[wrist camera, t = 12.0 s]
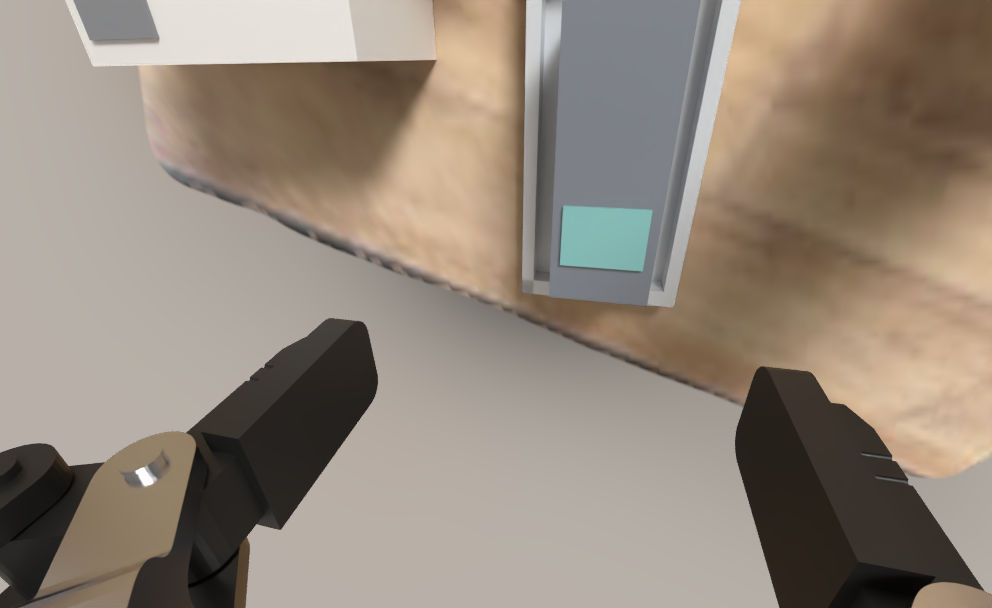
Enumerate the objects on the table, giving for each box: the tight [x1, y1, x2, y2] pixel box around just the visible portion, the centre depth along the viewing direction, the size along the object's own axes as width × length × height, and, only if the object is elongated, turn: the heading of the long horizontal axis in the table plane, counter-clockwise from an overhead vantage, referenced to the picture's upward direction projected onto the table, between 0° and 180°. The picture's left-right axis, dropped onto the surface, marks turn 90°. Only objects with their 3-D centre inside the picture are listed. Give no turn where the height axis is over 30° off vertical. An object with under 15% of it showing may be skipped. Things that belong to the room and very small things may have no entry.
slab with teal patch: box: [549, 0, 701, 306], centre depth 22 cm, size 5×13×6 cm, turn 1°
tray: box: [522, 0, 741, 308], centre depth 24 cm, size 10×18×2 cm, turn 0°
